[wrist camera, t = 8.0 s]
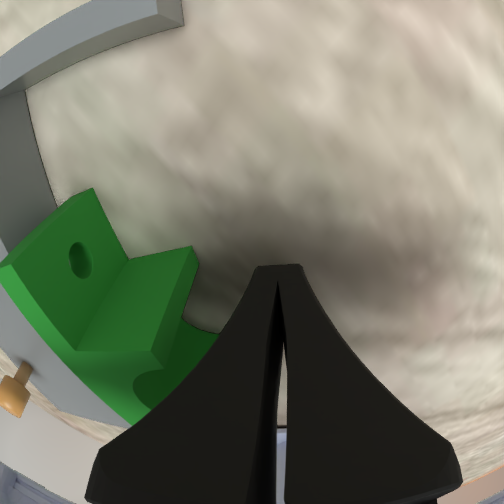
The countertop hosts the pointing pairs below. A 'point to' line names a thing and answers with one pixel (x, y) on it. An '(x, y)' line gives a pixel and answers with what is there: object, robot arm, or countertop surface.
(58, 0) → the countertop surface
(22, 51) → the pegged forked bracket
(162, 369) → the pipe clamp
